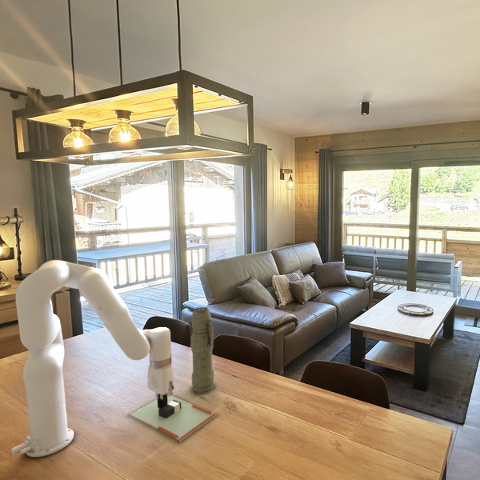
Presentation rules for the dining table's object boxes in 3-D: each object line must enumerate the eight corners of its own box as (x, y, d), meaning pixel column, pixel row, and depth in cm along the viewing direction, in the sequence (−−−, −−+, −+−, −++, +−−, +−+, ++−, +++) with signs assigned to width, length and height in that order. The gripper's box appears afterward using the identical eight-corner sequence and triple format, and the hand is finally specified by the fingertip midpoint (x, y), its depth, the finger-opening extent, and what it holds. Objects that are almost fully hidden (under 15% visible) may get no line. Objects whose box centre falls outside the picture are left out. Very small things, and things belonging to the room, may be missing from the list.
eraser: (166, 418, 126) (166, 412, 126) (158, 415, 128) (158, 409, 128) (181, 408, 132) (181, 402, 132) (173, 405, 134) (173, 399, 134)
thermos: (198, 380, 154) (196, 304, 150) (221, 385, 150) (219, 307, 146) (184, 390, 146) (181, 310, 141) (208, 396, 142) (206, 314, 137)
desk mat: (180, 441, 115) (180, 439, 115) (129, 415, 129) (129, 413, 129) (216, 415, 129) (216, 414, 129) (167, 394, 143) (167, 392, 143)
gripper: (138, 360, 130) (141, 406, 132) (165, 370, 123) (167, 418, 125) (156, 352, 136) (158, 396, 138) (182, 361, 129) (184, 407, 131)
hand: (162, 406), depth 132 cm, fingers closed
